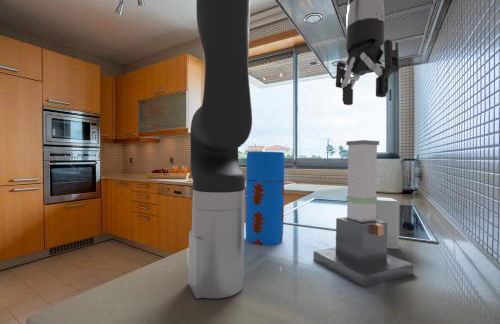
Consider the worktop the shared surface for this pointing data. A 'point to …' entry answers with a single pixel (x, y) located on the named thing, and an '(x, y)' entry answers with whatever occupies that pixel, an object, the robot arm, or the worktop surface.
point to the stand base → (362, 254)
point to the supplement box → (389, 219)
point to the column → (362, 181)
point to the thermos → (264, 197)
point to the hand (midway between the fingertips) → (363, 101)
